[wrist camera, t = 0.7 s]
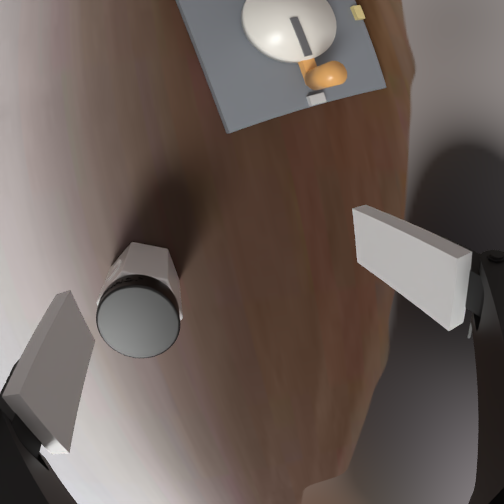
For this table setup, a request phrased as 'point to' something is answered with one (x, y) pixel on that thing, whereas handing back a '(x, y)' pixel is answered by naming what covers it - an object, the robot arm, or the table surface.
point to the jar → (140, 302)
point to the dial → (295, 36)
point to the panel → (273, 63)
